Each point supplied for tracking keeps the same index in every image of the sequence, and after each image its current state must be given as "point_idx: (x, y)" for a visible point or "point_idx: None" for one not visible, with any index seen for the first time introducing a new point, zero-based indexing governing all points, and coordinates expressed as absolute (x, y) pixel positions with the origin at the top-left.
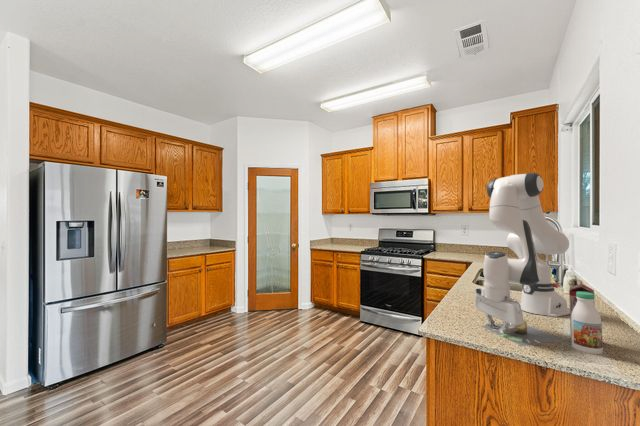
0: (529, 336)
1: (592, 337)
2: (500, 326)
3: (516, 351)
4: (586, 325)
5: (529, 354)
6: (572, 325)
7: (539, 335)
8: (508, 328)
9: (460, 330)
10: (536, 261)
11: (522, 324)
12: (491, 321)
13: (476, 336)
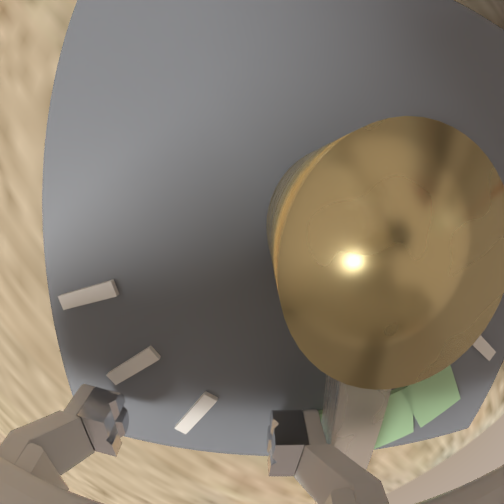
0: None
1: None
2: (111, 296)
3: (447, 446)
4: None
5: (492, 411)
6: None
7: (456, 100)
8: (362, 463)
9: (121, 494)
10: None
11: (479, 319)
12: (109, 449)
13: (217, 501)
